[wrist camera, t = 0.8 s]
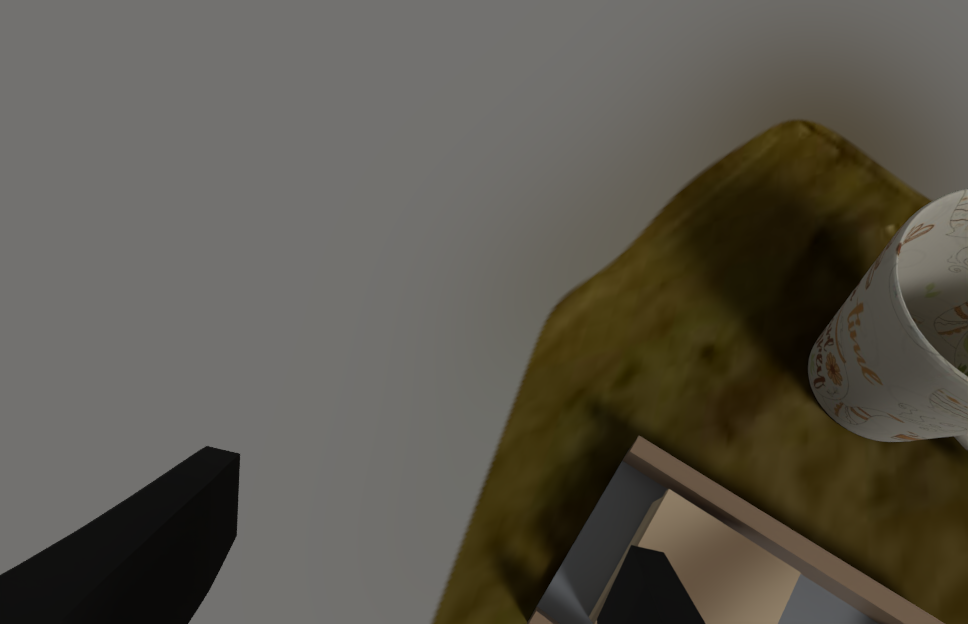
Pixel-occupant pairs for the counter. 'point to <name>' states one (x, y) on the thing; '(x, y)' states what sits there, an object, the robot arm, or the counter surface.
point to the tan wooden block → (713, 565)
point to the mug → (903, 335)
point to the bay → (651, 471)
